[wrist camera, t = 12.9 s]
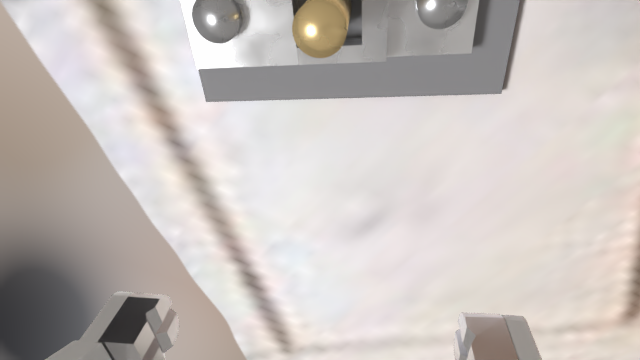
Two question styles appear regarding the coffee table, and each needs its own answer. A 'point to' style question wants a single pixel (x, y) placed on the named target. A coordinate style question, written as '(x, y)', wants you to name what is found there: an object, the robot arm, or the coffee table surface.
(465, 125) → the coffee table surface
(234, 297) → the coffee table surface
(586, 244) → the coffee table surface
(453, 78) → the gray base plate
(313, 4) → the brass pin
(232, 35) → the slotted latch plate
